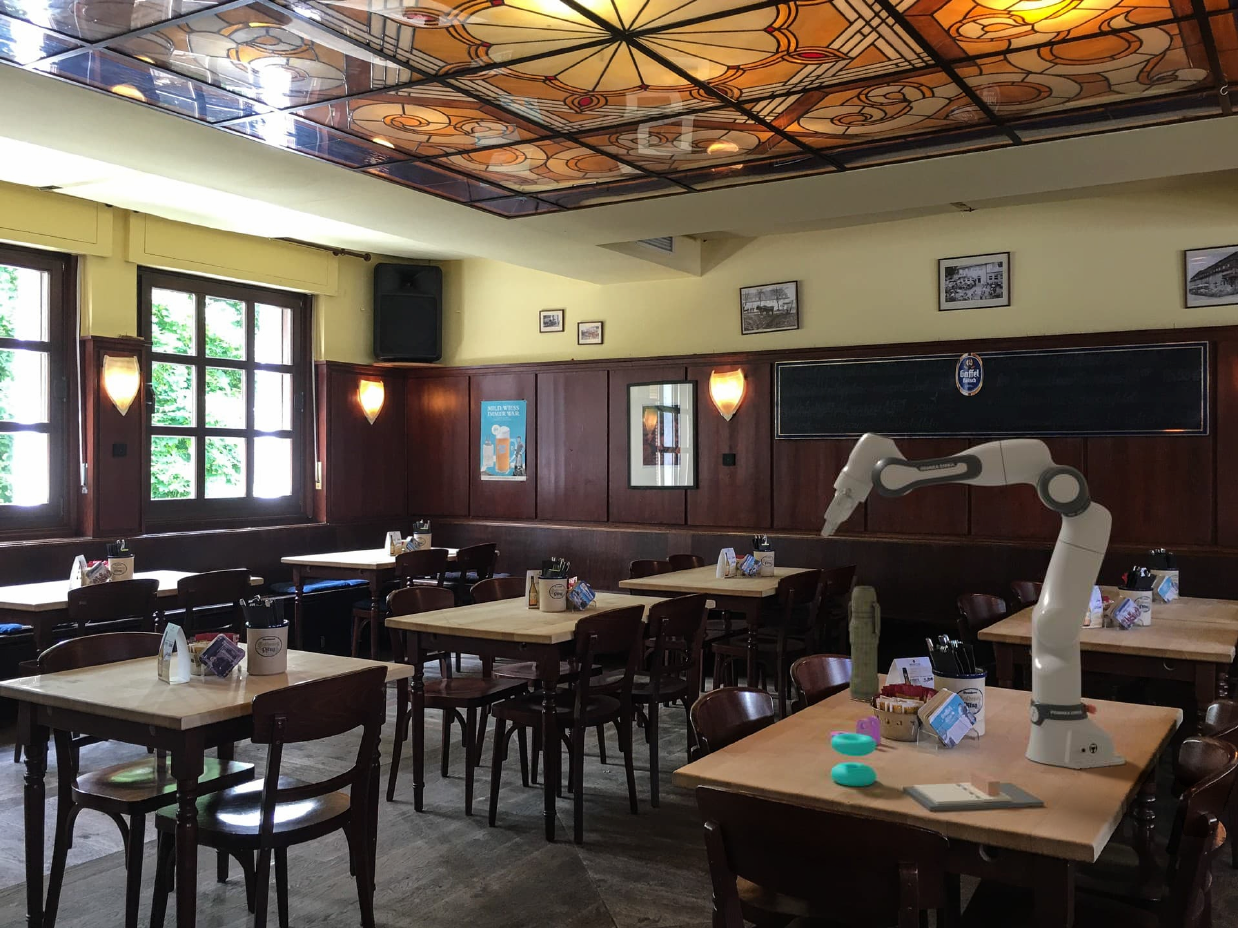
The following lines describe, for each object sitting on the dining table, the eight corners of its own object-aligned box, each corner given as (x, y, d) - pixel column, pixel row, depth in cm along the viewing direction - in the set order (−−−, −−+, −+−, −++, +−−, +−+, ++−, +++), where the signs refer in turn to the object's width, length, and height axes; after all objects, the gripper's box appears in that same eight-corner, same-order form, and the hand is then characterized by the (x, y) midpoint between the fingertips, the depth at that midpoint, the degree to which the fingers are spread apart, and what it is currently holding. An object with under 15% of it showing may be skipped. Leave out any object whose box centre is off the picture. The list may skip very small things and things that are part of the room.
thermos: (856, 694, 339) (856, 584, 340) (888, 699, 331) (888, 586, 331) (839, 697, 333) (839, 585, 334) (871, 703, 325) (871, 588, 325)
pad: (1010, 787, 237) (1010, 779, 237) (1043, 806, 223) (1043, 797, 223) (903, 791, 233) (903, 783, 233) (929, 810, 219) (929, 802, 219)
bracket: (880, 744, 276) (880, 717, 276) (868, 747, 272) (868, 720, 272) (838, 735, 285) (838, 709, 285) (826, 738, 281) (826, 712, 281)
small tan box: (984, 784, 235) (984, 768, 235) (1011, 800, 223) (1011, 783, 223) (958, 785, 234) (958, 769, 234) (984, 801, 222) (984, 784, 222)
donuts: (822, 737, 241) (845, 729, 248) (822, 781, 241) (845, 772, 248) (862, 744, 234) (884, 736, 242) (862, 790, 234) (884, 780, 242)
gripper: (857, 495, 268) (831, 543, 270) (866, 493, 287) (842, 538, 289) (835, 483, 270) (809, 531, 272) (845, 482, 289) (821, 527, 291)
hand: (826, 534), depth 280 cm, fingers open, 8 cm apart
